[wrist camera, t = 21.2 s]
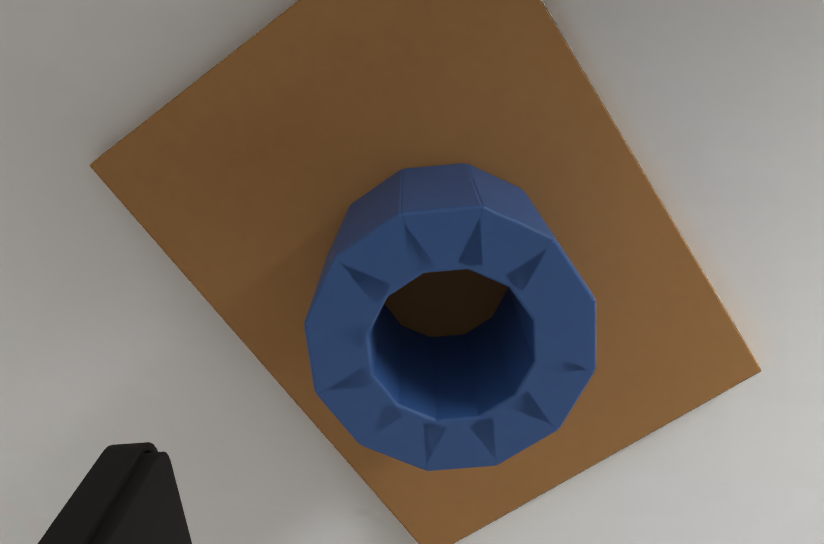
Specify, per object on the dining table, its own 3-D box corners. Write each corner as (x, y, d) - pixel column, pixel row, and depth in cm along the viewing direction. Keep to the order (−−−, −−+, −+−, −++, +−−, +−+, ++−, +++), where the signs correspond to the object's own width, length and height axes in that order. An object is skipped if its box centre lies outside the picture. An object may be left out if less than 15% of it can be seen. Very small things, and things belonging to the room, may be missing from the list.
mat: (95, 162, 19) (88, 165, 19) (462, -127, 17) (464, -130, 16) (430, 548, 23) (430, 557, 23) (756, 364, 21) (762, 371, 21)
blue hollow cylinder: (283, 251, 19) (247, 316, 15) (475, 116, 18) (495, 146, 14) (415, 414, 21) (416, 513, 17) (598, 302, 20) (649, 378, 16)
